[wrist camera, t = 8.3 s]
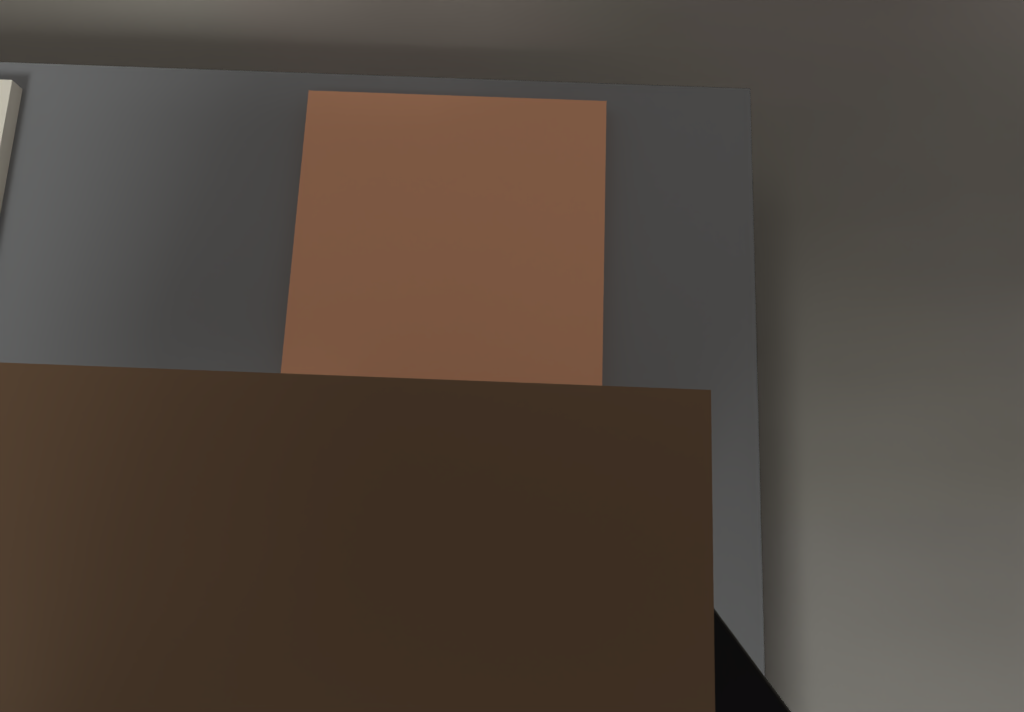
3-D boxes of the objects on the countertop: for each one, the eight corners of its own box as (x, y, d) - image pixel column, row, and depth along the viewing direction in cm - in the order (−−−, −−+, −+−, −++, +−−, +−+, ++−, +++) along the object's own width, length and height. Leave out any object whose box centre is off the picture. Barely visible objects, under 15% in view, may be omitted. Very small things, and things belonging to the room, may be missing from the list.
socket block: (719, 920, 14) (779, 1034, 11) (-434, 871, 14) (-710, 970, 11) (708, 164, 17) (755, 78, 14) (-247, 130, 17) (-422, 38, 14)
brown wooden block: (553, 749, 13) (727, 1615, 3) (308, 739, 13) (-509, 1555, 3) (559, 499, 14) (711, 388, 4) (329, 491, 14) (-223, 353, 4)
